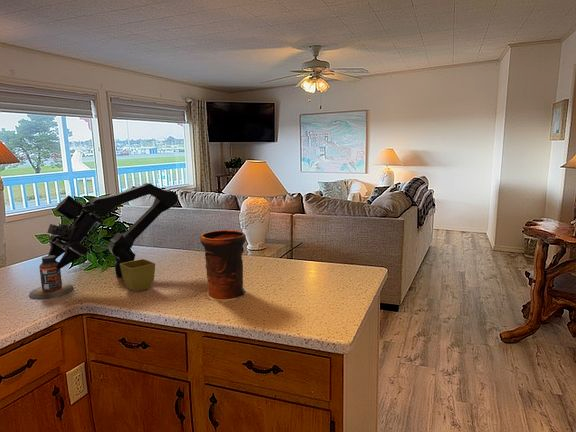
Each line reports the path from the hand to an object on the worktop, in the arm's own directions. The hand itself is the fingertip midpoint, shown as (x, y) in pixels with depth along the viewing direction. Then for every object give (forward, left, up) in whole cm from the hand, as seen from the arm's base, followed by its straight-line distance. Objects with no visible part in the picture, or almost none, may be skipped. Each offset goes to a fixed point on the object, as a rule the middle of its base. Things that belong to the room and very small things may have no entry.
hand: (51, 266), depth 136 cm
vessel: (-51, +29, -9) cm, 60 cm away
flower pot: (-26, +11, -9) cm, 30 cm away
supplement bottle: (+1, 0, -8) cm, 8 cm away
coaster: (+1, 0, -9) cm, 9 cm away
